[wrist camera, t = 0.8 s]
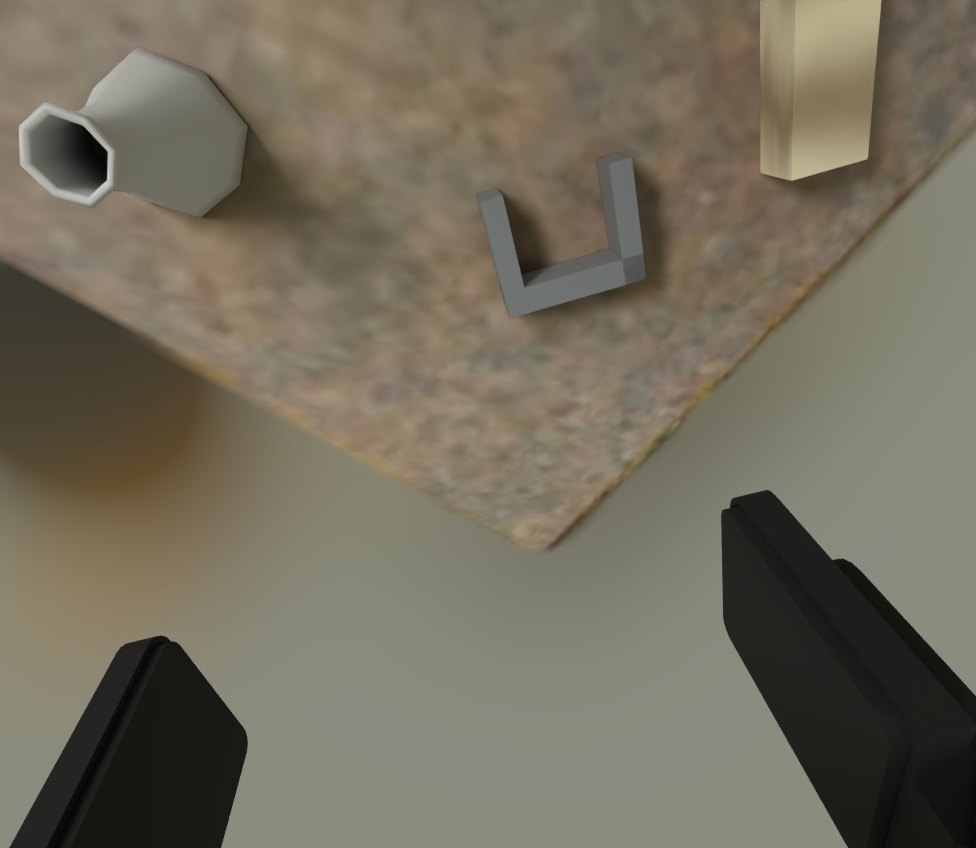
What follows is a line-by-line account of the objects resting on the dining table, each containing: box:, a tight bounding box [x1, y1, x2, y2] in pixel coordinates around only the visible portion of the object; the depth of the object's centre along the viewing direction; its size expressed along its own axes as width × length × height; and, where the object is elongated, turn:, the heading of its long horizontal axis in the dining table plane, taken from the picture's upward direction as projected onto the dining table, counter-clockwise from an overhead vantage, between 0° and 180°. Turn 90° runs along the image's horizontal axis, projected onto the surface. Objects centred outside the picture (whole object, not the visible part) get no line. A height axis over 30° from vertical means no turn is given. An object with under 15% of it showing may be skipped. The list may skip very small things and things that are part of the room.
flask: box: [19, 47, 248, 218], centre depth 24 cm, size 7×7×10 cm
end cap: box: [476, 152, 646, 318], centre depth 32 cm, size 6×8×2 cm
